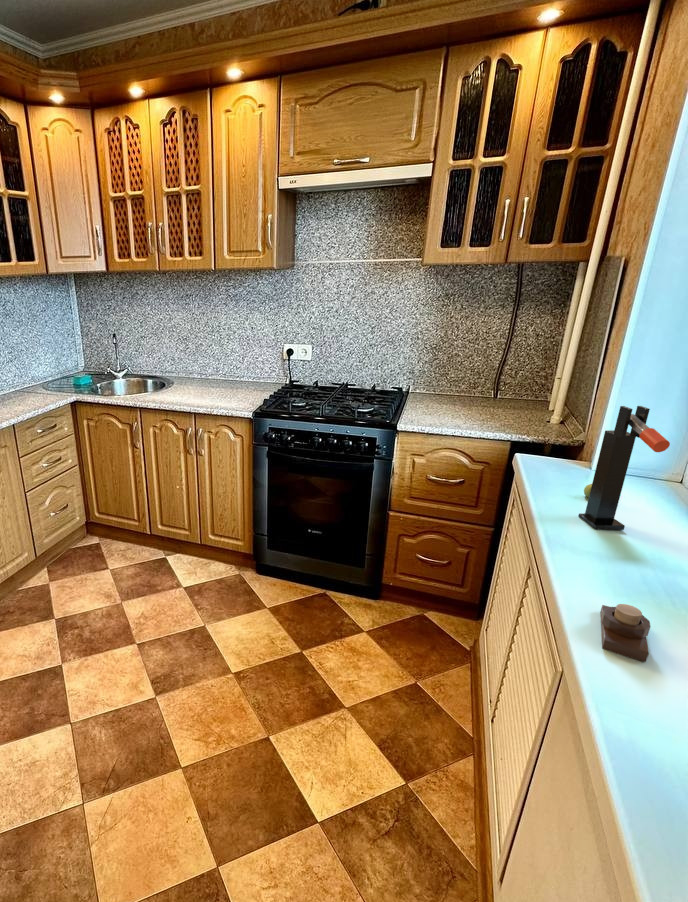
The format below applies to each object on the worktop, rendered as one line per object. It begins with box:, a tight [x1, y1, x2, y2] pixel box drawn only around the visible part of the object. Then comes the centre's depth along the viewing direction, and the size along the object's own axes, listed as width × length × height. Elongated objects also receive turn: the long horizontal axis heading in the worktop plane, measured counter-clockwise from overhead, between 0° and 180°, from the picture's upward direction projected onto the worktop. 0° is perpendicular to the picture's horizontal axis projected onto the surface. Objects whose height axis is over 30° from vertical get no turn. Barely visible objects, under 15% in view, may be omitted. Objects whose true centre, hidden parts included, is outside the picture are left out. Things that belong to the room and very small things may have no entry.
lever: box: [628, 413, 671, 453], centre depth 120 cm, size 12×3×3 cm, turn 176°
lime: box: [583, 483, 592, 499], centre depth 147 cm, size 4×5×5 cm
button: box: [614, 603, 643, 625], centre depth 93 cm, size 4×4×2 cm
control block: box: [599, 604, 651, 663], centre depth 94 cm, size 12×6×4 cm, turn 146°
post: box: [578, 405, 651, 531], centre depth 129 cm, size 7×7×31 cm
